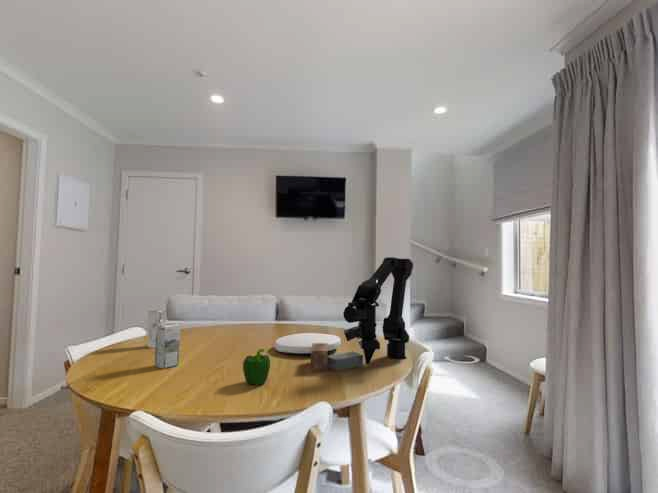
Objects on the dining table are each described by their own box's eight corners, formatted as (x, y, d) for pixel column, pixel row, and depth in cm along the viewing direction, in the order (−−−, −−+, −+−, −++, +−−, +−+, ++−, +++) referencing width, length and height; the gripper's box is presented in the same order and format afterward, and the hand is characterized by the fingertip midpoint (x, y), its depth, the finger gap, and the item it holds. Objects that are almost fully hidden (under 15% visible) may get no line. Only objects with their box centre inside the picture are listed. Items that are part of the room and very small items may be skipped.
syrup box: (169, 362, 127) (171, 322, 128) (179, 365, 123) (180, 324, 124) (154, 366, 122) (155, 324, 123) (163, 369, 119) (165, 326, 119)
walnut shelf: (327, 361, 131) (327, 343, 131) (327, 371, 119) (327, 351, 120) (312, 361, 131) (312, 343, 131) (310, 371, 119) (310, 350, 120)
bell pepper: (249, 389, 101) (250, 354, 102) (238, 381, 108) (239, 349, 108) (275, 384, 106) (276, 350, 106) (263, 376, 113) (264, 345, 113)
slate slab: (352, 362, 131) (352, 351, 131) (362, 366, 126) (363, 355, 126) (326, 367, 124) (326, 356, 124) (335, 371, 119) (336, 360, 119)
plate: (266, 344, 137) (282, 331, 164) (267, 361, 137) (283, 345, 163) (337, 339, 135) (341, 327, 161) (338, 356, 134) (342, 341, 161)
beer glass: (149, 344, 154) (151, 310, 155) (166, 344, 155) (167, 310, 155) (143, 348, 147) (144, 312, 148) (160, 348, 148) (161, 312, 148)
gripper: (343, 315, 135) (343, 356, 134) (346, 323, 116) (346, 371, 115) (372, 315, 135) (372, 356, 134) (380, 324, 116) (380, 371, 116)
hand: (367, 363), depth 125 cm, fingers closed
